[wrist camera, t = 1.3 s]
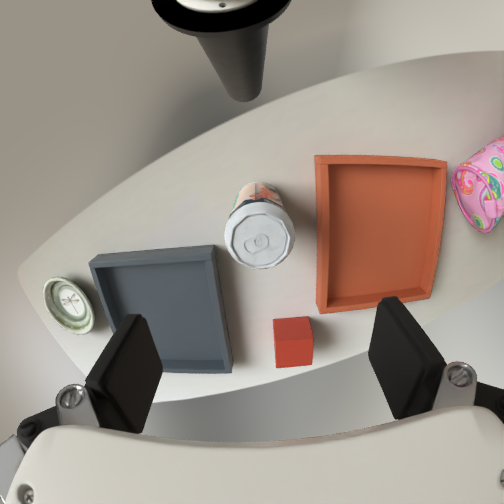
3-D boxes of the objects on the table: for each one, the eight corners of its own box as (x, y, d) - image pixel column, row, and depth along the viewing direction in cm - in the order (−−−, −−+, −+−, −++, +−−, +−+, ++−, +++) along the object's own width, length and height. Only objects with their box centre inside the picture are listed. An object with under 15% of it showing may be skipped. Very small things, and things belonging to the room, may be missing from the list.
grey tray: (97, 254, 31) (88, 262, 29) (214, 244, 31) (211, 253, 28) (134, 358, 38) (129, 369, 36) (233, 360, 37) (231, 373, 35)
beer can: (288, 213, 29) (308, 257, 18) (248, 232, 30) (244, 285, 19) (268, 173, 28) (277, 192, 17) (227, 193, 29) (209, 225, 17)
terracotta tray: (314, 155, 27) (319, 156, 25) (434, 159, 26) (447, 161, 24) (315, 302, 33) (319, 314, 31) (421, 289, 33) (430, 298, 30)
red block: (272, 319, 34) (274, 341, 30) (308, 316, 34) (314, 338, 30) (274, 345, 36) (276, 368, 32) (307, 342, 36) (312, 365, 32)
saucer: (79, 334, 37) (72, 342, 34) (42, 287, 34) (34, 294, 31) (112, 313, 35) (105, 323, 33) (71, 259, 32) (61, 266, 29)
